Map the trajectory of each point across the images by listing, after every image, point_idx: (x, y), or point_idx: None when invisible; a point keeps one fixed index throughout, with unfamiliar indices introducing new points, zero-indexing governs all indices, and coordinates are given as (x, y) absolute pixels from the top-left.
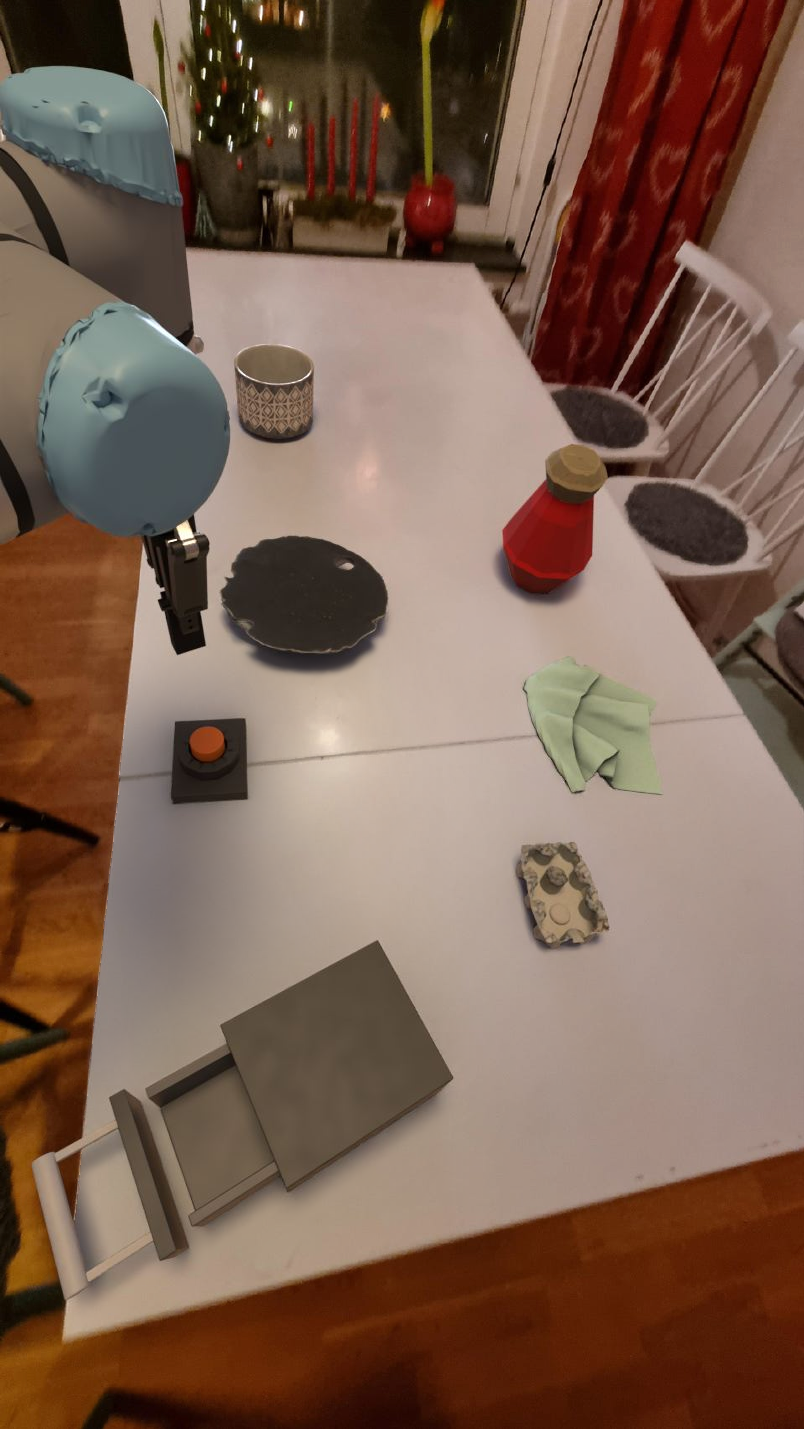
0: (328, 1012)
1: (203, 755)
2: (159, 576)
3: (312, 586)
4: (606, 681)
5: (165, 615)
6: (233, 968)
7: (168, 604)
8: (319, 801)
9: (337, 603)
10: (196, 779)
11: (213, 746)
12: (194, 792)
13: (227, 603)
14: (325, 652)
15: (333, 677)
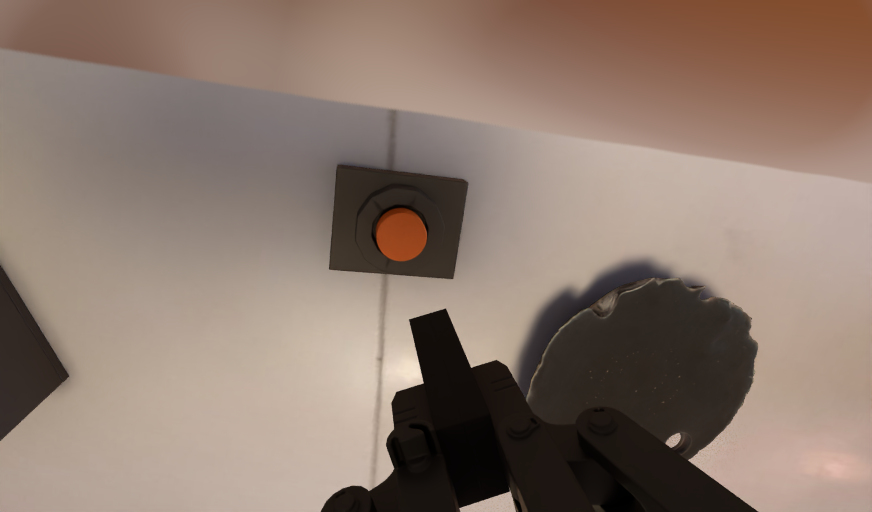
0: None
1: (377, 228)
2: (510, 469)
3: (648, 400)
4: None
5: (462, 362)
6: (75, 221)
7: (406, 460)
8: (313, 348)
9: None
10: (360, 205)
11: (387, 246)
12: (338, 200)
13: (651, 287)
14: None
15: None
